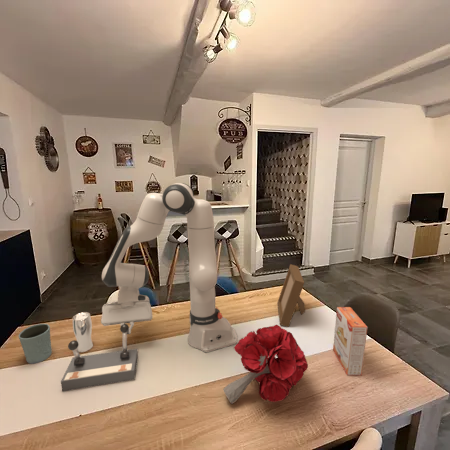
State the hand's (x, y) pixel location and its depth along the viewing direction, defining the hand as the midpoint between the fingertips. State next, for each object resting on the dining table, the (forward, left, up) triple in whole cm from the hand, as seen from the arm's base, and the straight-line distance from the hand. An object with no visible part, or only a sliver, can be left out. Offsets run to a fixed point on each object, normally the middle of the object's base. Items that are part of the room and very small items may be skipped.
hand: (126, 334), depth 105 cm
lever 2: (0, +7, -5) cm, 9 cm away
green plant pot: (+36, -7, -10) cm, 38 cm away
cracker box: (-86, +23, -10) cm, 90 cm away
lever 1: (+16, +7, -5) cm, 18 cm away
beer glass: (+19, -9, -10) cm, 23 cm away
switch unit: (+8, +8, -10) cm, 15 cm away
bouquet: (-49, +28, -10) cm, 57 cm away
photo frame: (-81, -13, -10) cm, 83 cm away
